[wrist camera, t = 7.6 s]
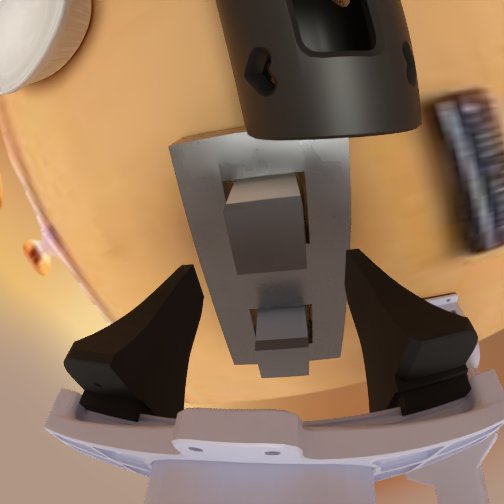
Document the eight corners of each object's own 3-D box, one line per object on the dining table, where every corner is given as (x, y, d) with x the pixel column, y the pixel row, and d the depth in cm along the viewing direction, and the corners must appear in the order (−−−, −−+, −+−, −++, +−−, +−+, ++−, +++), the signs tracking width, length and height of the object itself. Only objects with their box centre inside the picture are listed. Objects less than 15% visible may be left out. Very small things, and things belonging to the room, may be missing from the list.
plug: (292, 165, 19) (302, 203, 14) (297, 215, 22) (307, 268, 16) (237, 172, 20) (222, 212, 14) (247, 220, 22) (237, 275, 16)
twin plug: (302, 286, 25) (308, 347, 19) (303, 316, 27) (308, 375, 22) (259, 290, 26) (254, 350, 20) (264, 319, 28) (261, 377, 22)
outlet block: (336, 117, 17) (347, 122, 15) (336, 335, 29) (340, 357, 26) (182, 137, 19) (168, 146, 16) (237, 343, 30) (234, 364, 28)
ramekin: (4, 53, 13) (-33, 59, 8) (68, -38, 8) (33, -48, 4) (49, 109, 17) (8, 122, 13) (128, 7, 13) (90, -8, 8)
